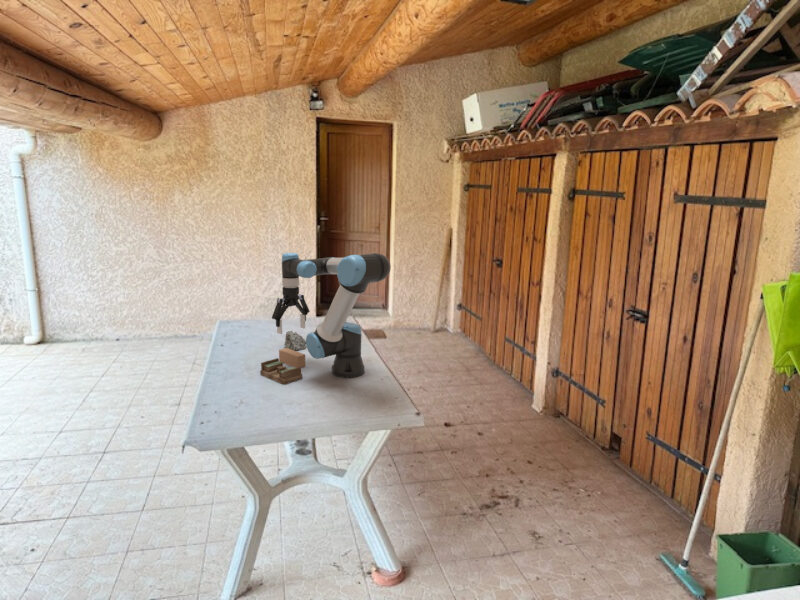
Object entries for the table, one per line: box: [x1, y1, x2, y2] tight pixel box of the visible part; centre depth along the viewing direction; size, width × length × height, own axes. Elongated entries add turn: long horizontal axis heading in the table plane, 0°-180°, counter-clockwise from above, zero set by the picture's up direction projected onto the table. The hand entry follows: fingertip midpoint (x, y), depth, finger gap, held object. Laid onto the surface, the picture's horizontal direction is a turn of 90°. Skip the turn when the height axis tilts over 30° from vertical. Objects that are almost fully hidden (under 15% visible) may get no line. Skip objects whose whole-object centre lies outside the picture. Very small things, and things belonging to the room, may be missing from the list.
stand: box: [259, 357, 303, 386], centre depth 228 cm, size 17×10×6 cm, turn 50°
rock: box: [283, 330, 307, 351], centre depth 269 cm, size 13×10×10 cm
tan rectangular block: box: [278, 347, 306, 368], centre depth 245 cm, size 14×4×6 cm, turn 50°
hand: (291, 330), depth 242 cm, fingers open, 13 cm apart
